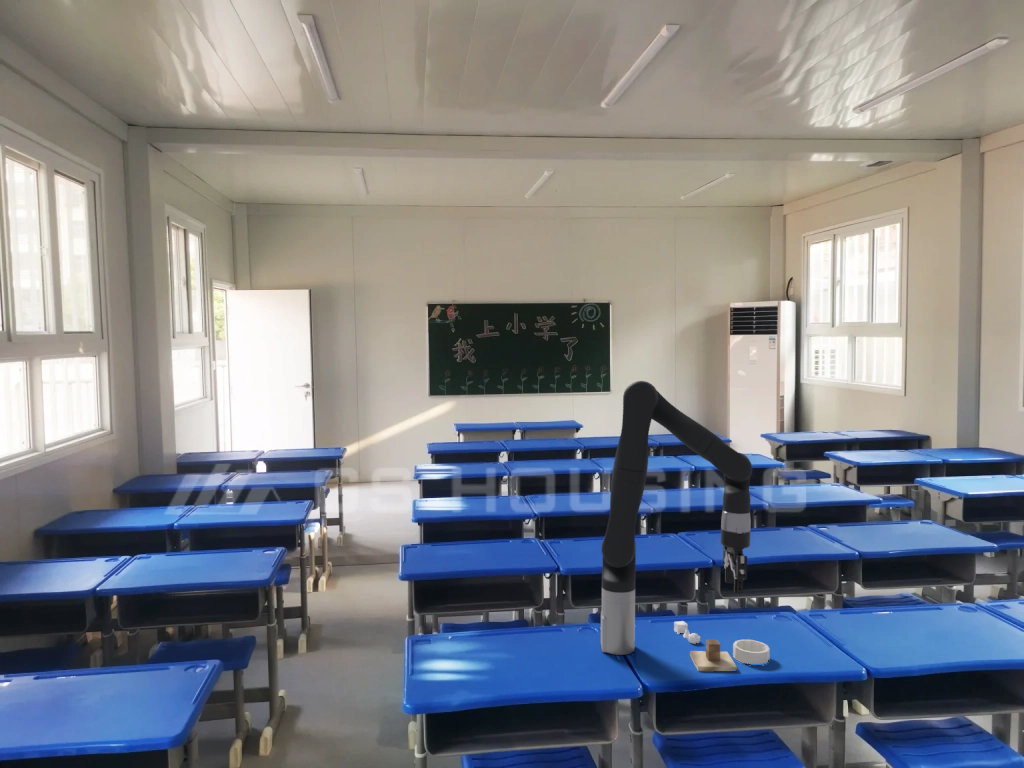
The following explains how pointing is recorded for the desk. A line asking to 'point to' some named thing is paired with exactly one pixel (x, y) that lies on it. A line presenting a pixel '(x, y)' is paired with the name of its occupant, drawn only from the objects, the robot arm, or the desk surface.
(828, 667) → the desk surface
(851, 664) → the desk surface
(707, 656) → the lid
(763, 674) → the desk surface
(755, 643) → the bowl
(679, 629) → the game pieces
